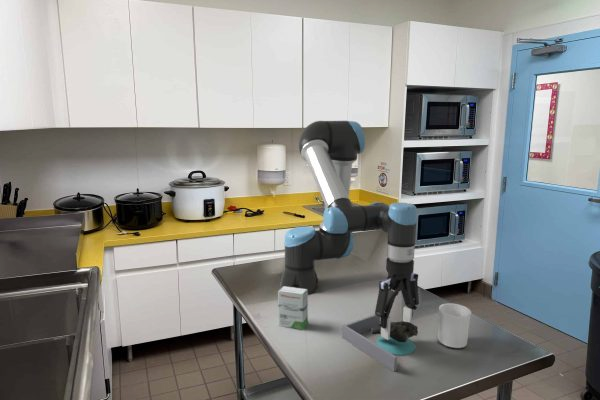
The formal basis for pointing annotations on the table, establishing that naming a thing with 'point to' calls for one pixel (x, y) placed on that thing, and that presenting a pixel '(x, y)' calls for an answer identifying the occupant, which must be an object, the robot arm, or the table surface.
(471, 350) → the table surface
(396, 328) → the stone
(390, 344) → the teal mat
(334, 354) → the table surface
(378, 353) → the grey angle bracket
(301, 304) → the ink box
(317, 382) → the table surface
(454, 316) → the mug
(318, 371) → the table surface
